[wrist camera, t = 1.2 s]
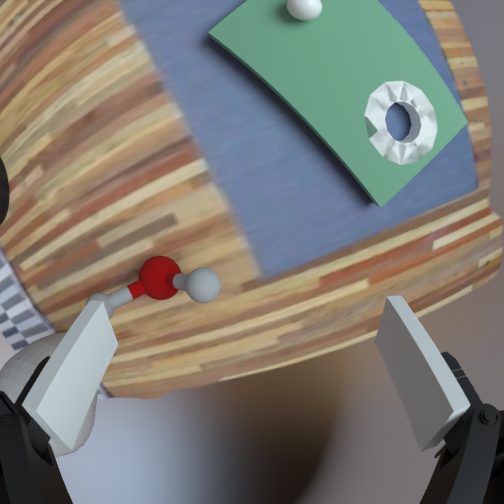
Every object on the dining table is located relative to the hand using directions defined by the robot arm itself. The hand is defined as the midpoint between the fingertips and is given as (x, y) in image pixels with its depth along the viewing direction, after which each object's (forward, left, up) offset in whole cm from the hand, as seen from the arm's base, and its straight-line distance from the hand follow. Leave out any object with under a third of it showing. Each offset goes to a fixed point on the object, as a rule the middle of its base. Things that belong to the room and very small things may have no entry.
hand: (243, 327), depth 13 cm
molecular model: (-1, -15, -24) cm, 28 cm away
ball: (-11, +20, -19) cm, 30 cm away
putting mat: (-2, +20, -24) cm, 31 cm away
